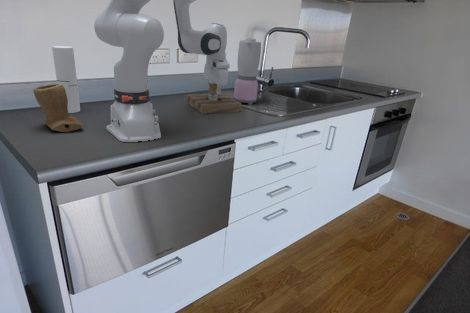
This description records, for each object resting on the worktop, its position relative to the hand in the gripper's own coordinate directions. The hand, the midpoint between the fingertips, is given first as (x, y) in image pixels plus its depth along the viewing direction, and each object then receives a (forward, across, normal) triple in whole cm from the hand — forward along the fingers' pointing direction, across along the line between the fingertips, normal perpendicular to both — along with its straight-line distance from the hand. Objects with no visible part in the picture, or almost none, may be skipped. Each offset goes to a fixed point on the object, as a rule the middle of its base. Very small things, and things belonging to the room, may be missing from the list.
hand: (214, 91), depth 151 cm
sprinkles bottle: (+8, 0, 0) cm, 8 cm away
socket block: (+8, 0, 0) cm, 8 cm away
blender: (+8, -8, +22) cm, 25 cm away
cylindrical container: (+8, -5, -62) cm, 63 cm away
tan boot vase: (+8, +16, -66) cm, 68 cm away
